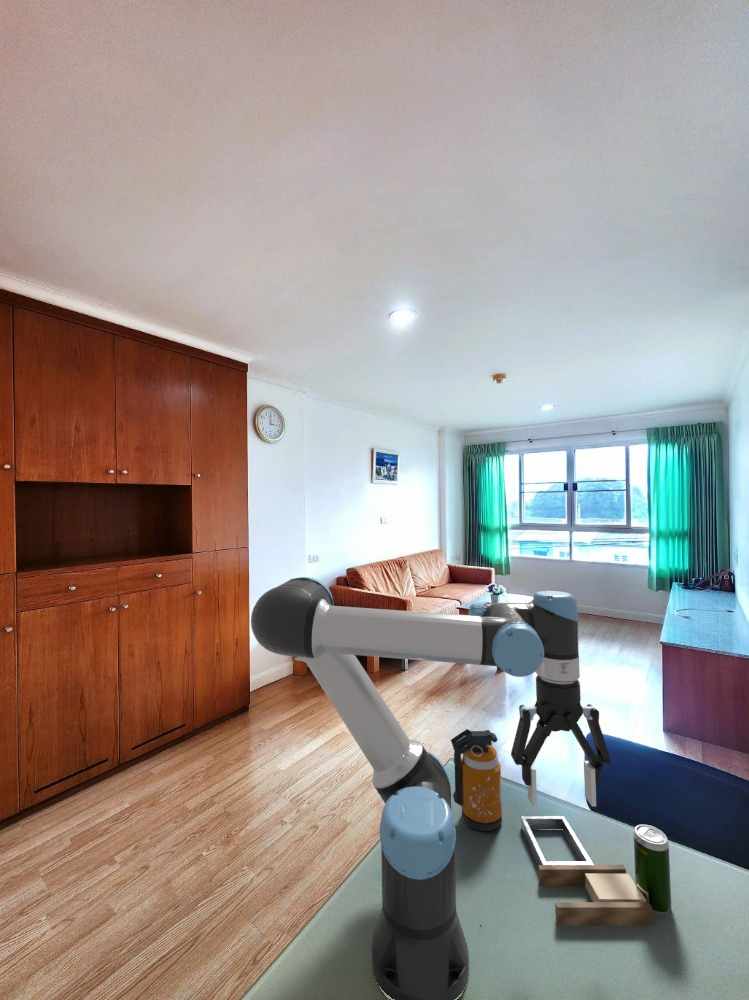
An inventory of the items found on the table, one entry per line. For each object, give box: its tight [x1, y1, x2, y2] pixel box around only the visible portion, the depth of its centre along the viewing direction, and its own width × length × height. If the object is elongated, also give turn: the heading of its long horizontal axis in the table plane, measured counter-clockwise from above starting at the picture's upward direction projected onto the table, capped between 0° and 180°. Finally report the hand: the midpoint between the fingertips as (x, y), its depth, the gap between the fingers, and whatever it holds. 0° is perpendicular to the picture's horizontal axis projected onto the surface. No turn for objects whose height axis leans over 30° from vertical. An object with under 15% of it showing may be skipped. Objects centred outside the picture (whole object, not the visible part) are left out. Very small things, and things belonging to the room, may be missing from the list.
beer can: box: [633, 824, 672, 916], centre depth 78 cm, size 5×5×12 cm
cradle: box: [520, 815, 594, 866], centre depth 90 cm, size 14×10×2 cm
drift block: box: [584, 873, 646, 902], centre depth 78 cm, size 8×6×3 cm
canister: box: [450, 728, 503, 831], centre depth 100 cm, size 9×11×20 cm
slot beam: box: [537, 864, 654, 927], centre depth 78 cm, size 16×9×3 cm, turn 89°
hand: (561, 801), depth 79 cm, fingers open, 10 cm apart
